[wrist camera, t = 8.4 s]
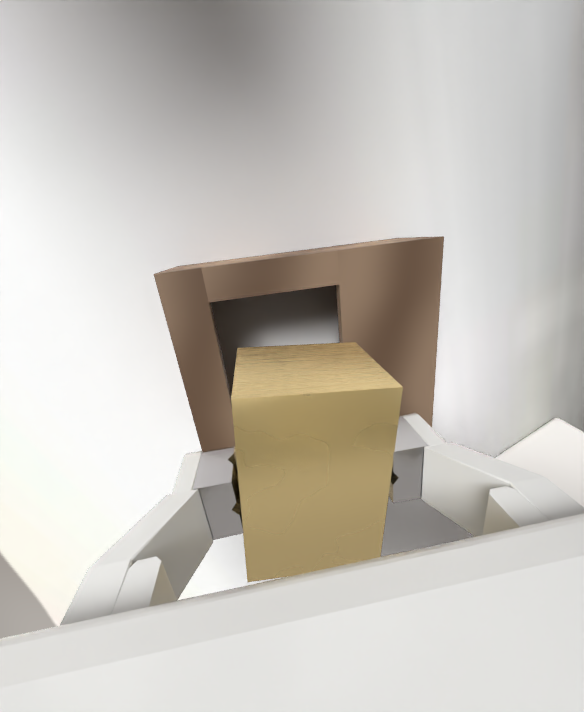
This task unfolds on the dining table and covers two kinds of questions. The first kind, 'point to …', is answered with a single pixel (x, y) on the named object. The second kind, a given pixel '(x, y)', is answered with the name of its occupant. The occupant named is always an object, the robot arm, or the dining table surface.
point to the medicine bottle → (553, 456)
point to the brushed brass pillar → (312, 455)
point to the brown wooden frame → (355, 316)
